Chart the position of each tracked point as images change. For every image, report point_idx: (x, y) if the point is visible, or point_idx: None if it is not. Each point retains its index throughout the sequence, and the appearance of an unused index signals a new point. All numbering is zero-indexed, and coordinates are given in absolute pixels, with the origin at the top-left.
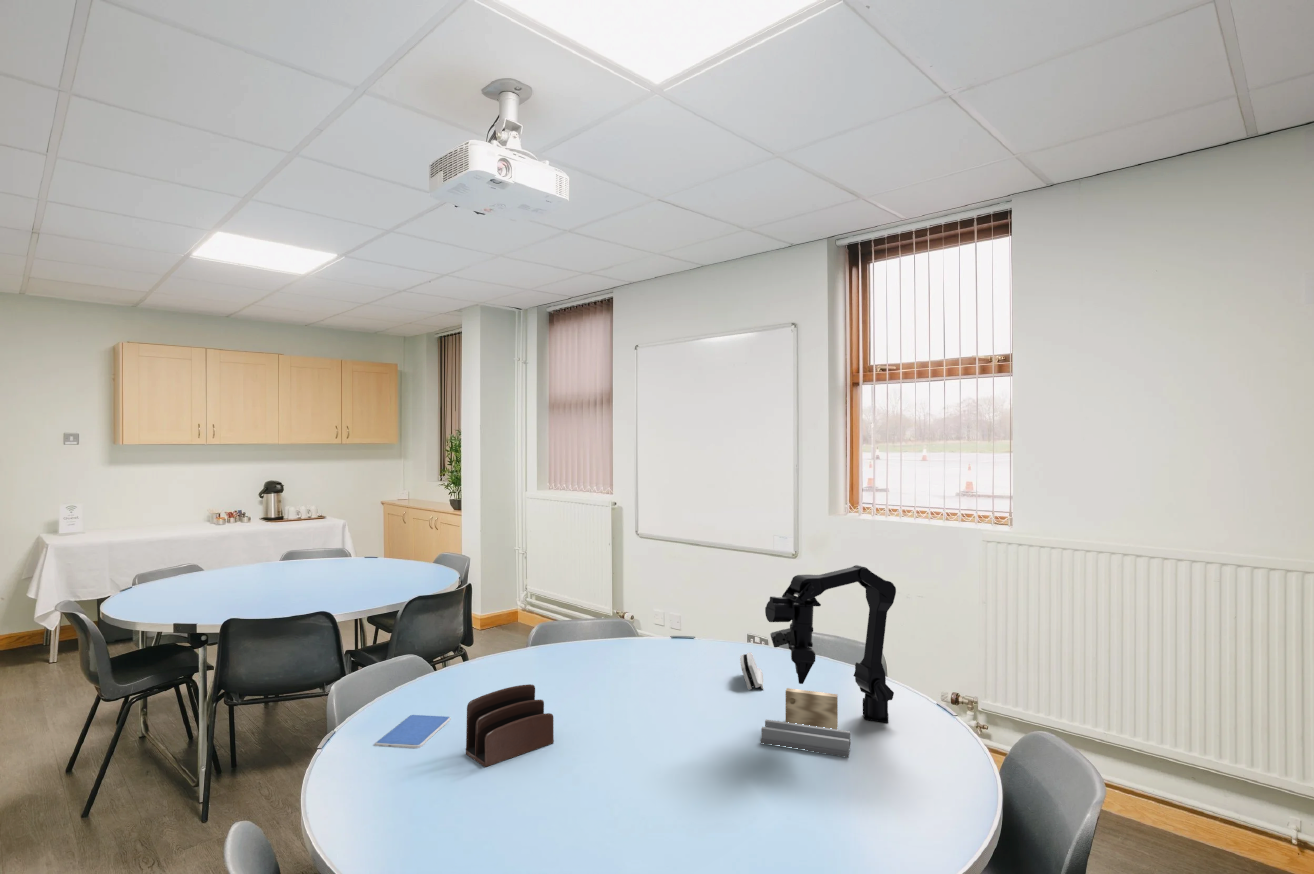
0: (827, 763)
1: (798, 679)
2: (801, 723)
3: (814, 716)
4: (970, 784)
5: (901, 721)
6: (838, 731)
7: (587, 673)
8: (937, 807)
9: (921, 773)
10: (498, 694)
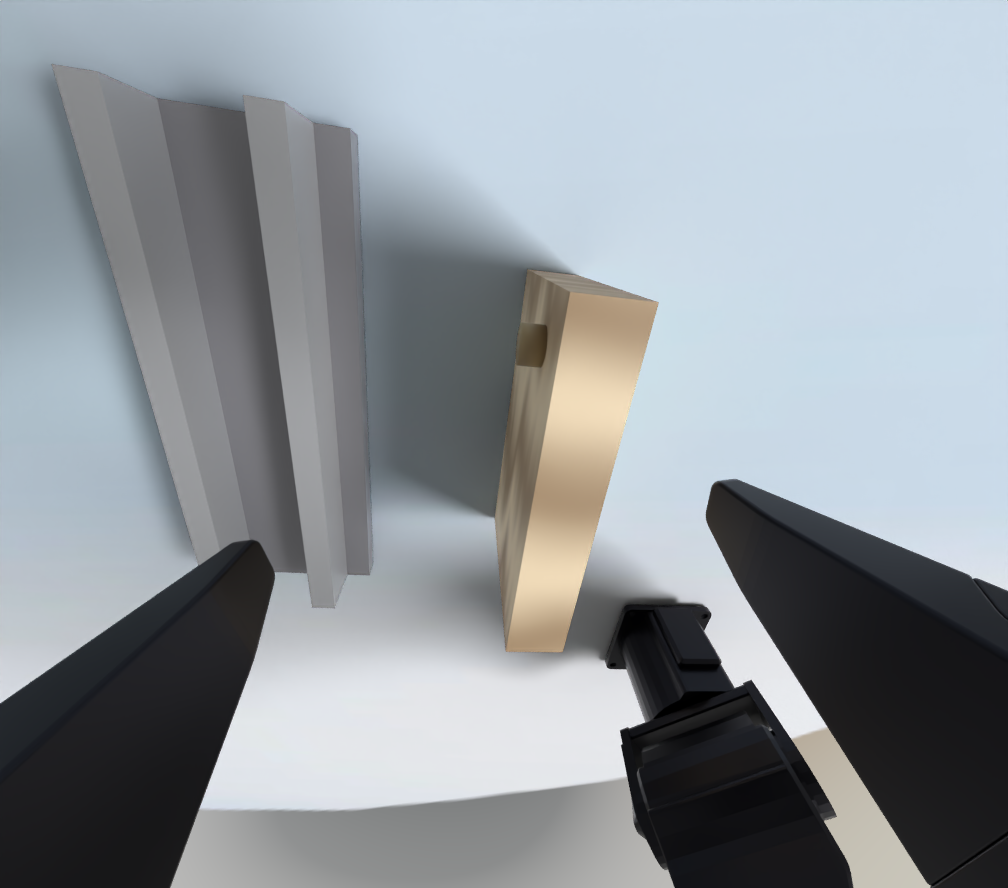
0: (103, 488)
1: (176, 582)
2: (516, 366)
3: (511, 453)
4: (229, 786)
5: (626, 689)
6: (307, 567)
7: None
8: None
9: None
10: None
